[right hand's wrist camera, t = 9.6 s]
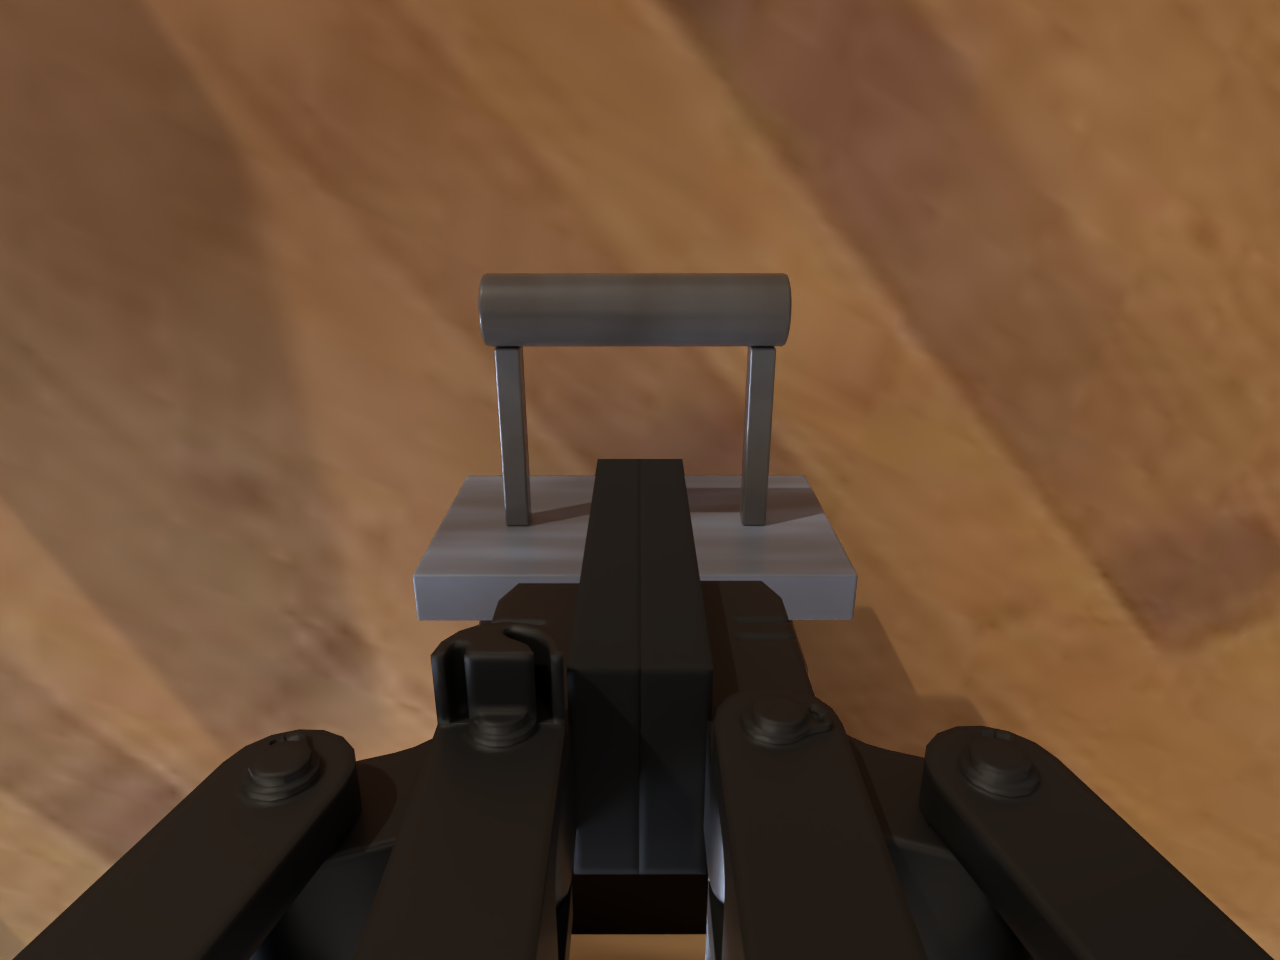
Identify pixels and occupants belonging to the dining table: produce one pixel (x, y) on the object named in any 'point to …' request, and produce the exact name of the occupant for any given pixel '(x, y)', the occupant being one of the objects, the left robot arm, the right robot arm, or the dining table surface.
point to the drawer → (560, 505)
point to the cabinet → (637, 947)
